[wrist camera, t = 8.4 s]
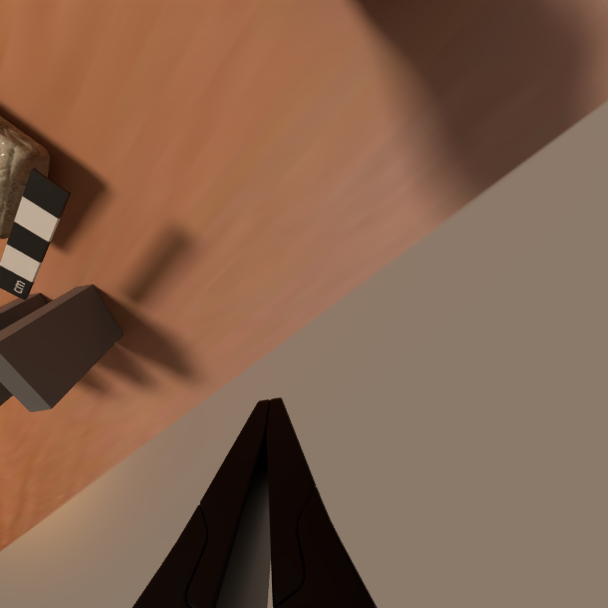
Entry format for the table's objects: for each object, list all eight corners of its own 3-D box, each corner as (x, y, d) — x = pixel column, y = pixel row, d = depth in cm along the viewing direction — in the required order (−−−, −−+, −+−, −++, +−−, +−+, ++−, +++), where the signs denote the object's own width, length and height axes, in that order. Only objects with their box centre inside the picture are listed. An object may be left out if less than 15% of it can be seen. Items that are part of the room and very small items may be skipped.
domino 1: (40, 292, 18) (-88, 358, 12) (76, 342, 20) (-16, 419, 14) (23, 295, 18) (-112, 362, 12) (61, 344, 20) (-38, 422, 14)
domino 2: (92, 284, 18) (-8, 345, 12) (123, 334, 20) (52, 408, 14) (76, 287, 18) (-33, 349, 12) (108, 336, 20) (30, 412, 14)
